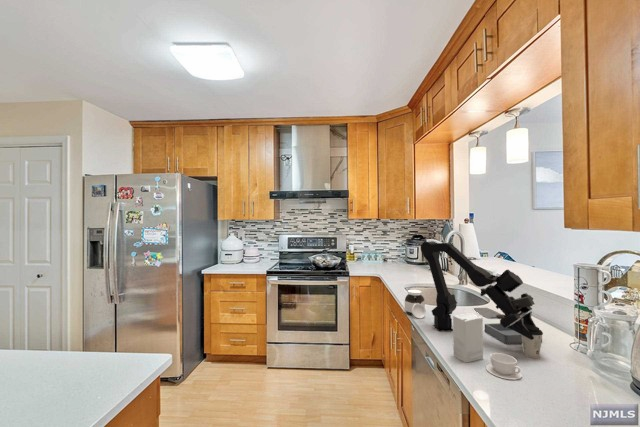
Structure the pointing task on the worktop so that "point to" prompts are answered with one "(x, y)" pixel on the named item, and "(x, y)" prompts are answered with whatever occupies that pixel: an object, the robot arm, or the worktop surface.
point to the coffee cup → (532, 342)
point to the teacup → (504, 366)
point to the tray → (503, 333)
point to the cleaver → (489, 313)
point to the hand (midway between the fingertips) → (535, 336)
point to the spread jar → (415, 304)
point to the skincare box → (468, 337)
